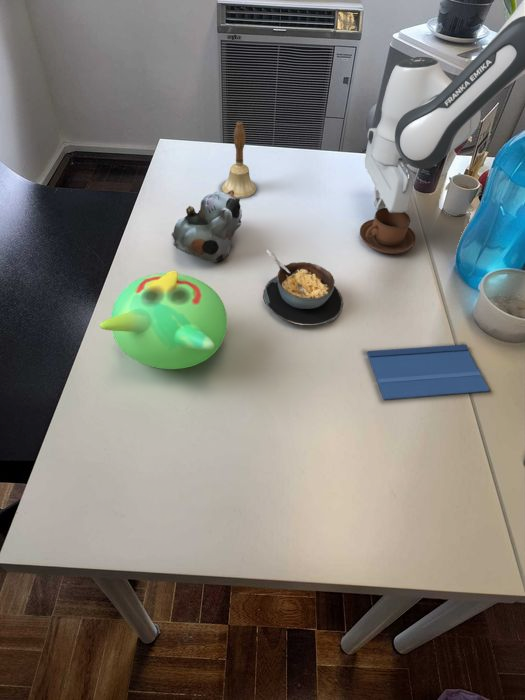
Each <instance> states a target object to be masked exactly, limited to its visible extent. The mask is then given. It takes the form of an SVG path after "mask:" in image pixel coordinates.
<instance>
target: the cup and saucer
mask: <svg viewBox="0 0 525 700" xmlns="http://www.w3.org/2000/svg"><path fill="white" fill-rule="evenodd" d="M410 223H411V218H410V215H409V214H408V213H407V212H406V211H405V212H404V213H390V212H389V211H388V209H387V207H385V208H382V209H379V210H378V211H377V210H376V212H375V214H374V218H372V219H369V220H366V221H365V222H363V224H361V226H360V228H359V236H360V239H361V240H362V242H363V243H365V244H366V246H367V247H369V248H370V249H372V250H374V251H376V252H379V253H383V254H391V255H394V254H401V253H405V252H407V251H409V250H411V249H412V247H413V246H414V245H415V244H416V240H417V237H416V234H415V232H414V231H413V230H412V228H410V227H409V226H410Z"/></svg>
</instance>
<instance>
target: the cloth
mask: <svg viewBox="0 0 525 700" xmlns="http://www.w3.org/2000/svg"><path fill="white" fill-rule="evenodd" d="M469 350H470V349H469V347H468V345H467V344H451V345H437V346H424V347H423V346H421V347H410V348H407V347H406V348H395V349H394V348H393V349H379V350H368V351H366V355H367V357H368V360H369V363H370V366H371V368H372V372H373V374H374V377H375V380H376V382H377V385H378V388H379V391H380V394H381V397H382V399H383V401H391V400H403V399H414V398H415V399H416V398H417V399H418V398H428V397H429V398H430V397H440V396H441V397H442V396H454V395H462V394H463V395H465V394H476V393H478V394H479V393H488V392H490V391H491V390H490V388H489V387H488V385H487V382H486V381H485V379H484V377H483V375H482V372H481V371H480V370H479V367H478V366H477V364H476V362H475V360H474V359H473V357H472V355H471V353H470V351H469Z"/></svg>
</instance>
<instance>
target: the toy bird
mask: <svg viewBox="0 0 525 700" xmlns="http://www.w3.org/2000/svg"><path fill="white" fill-rule="evenodd" d="M110 315H111V316H110V318H108V319H105V320H103V321H101V323H100V324H99V327H100V329H102V330H105V331H111V332H112V335H113V338H114V340H115V343H116V344H117V346H118V347H119V348H120V349H121V351H123V353H125V354H126V355H127V356H128V357H129V358H131V359H132V360H134V361H136V362H137V363H140V364H142V365H145V366H149V367H153V368H157V369H161V370H179V369H186V368H190V367H195V366H197V365H199V364H201V363H203V362H205V361H206V360H208V359H210V358H211V357H212V356H213V355H214V354H215V353H216V352H217V351H218V350H219V348H220V347H221V345H222V343H223V341H224V340H225V336H226V333H227V328H228V315H227V309H226V306H225V305H224V302H223V300H222V298H221V297H220V296H219V293H217V292H216V290H215V289H213V288H212V287H211V286H210V285H208V283H205V282H204V281H202V280H200V279H198V278H195V277H192V276H189V275H185V274H182V273H179V272H178V271H177V270H171V271H169V272H163V273H162V272H160V273H153V274H149V275H146V276H143V277H140V278H138V279H136V280H134V281H132V282H130V284H128V285H127V286H126V287H125V288H124V289H122V291H121V292H120V294H119V295H118V296H117V298H116V299H115V302H114V304H113V306H112V310H111V314H110Z"/></svg>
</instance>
